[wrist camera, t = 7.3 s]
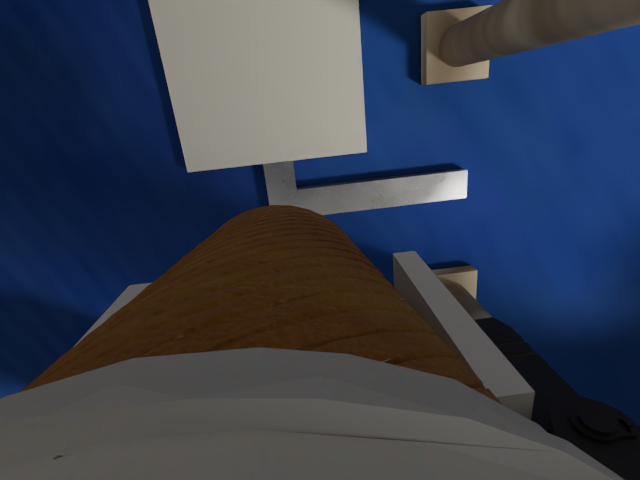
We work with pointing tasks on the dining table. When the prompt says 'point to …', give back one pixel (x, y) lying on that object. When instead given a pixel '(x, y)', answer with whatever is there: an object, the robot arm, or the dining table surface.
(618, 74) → the dining table surface
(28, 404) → the disposable coffee cup
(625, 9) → the gate posts
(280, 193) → the guide strip
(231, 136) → the tile
